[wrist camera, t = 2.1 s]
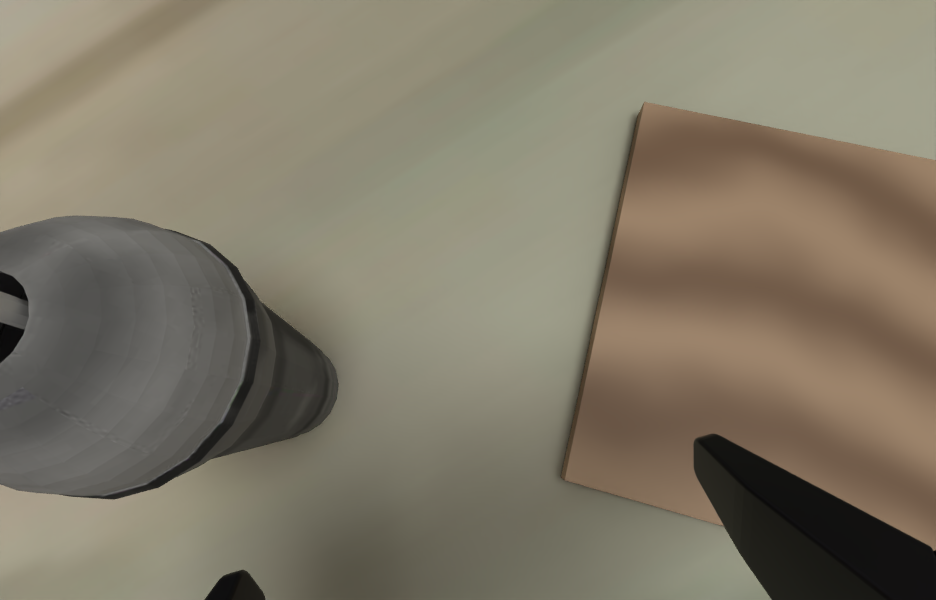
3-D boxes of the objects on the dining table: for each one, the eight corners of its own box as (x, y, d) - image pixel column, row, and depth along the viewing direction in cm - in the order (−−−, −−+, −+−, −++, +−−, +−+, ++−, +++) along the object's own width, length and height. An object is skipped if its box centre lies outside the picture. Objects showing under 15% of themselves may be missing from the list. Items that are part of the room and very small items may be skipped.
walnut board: (1028, 612, 20) (1060, 623, 19) (560, 477, 22) (564, 480, 21) (1021, 194, 25) (1047, 182, 24) (637, 116, 27) (644, 102, 26)
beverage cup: (204, 352, 25) (-824, 74, 5) (337, 295, 25) (-164, -147, 6) (245, 491, 23) (-1107, 840, 3) (387, 427, 23) (-104, 420, 4)
